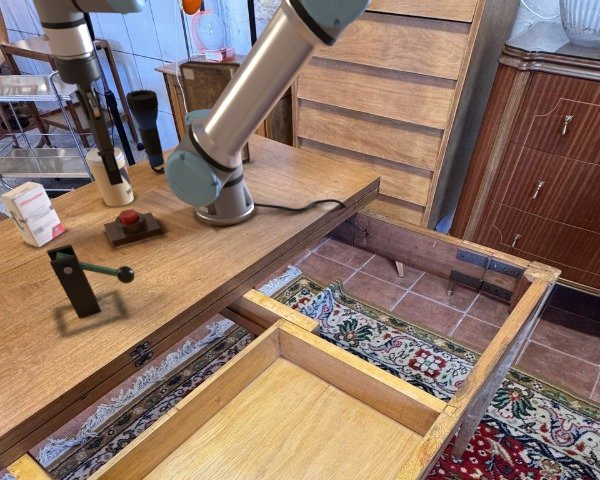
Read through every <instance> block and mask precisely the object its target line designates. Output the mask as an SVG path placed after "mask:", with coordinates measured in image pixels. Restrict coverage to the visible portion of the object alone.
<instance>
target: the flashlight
mask: <svg viewBox="0 0 600 480" xmlns="http://www.w3.org/2000/svg"><path fill="white" fill-rule="evenodd" d="M125 98H126V102H127V106H128V109H129V112H130V113H131V115H132V117H133V118H134V120H135V121H136V123H137V124H138V131H139V136H140V138H141V143H142V145H143V148H144V153H145V154H146V156H147V160H148V165H149V166H150V168H151V170H152V171H153V172H154V173H157V174H159V173H162V172H163V171H165V167H163V166H162V165H164V164H165V165H166V162H165V159H164V154H163V148H162V142H161V138H160V133H159V130H158V123H157V121H158V116H159V100H158V95H157V92H156V91H154V90H151V89H139V90H137V89H136V90H133V91H132V90H131V91H130V92H127V93H126V96H125ZM159 167H161V168H159ZM157 168H159V169H157Z"/></svg>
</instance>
